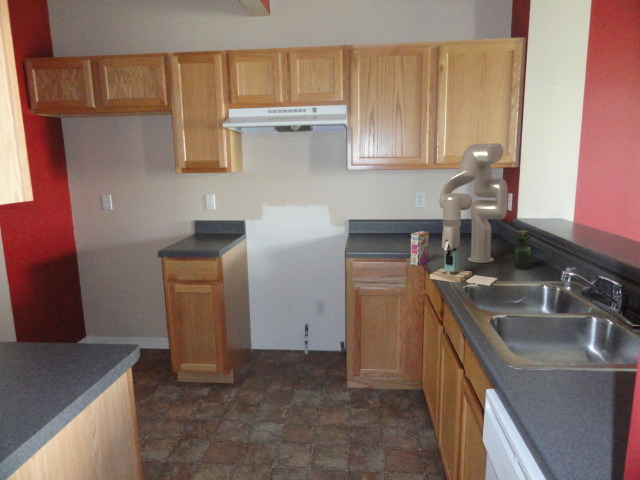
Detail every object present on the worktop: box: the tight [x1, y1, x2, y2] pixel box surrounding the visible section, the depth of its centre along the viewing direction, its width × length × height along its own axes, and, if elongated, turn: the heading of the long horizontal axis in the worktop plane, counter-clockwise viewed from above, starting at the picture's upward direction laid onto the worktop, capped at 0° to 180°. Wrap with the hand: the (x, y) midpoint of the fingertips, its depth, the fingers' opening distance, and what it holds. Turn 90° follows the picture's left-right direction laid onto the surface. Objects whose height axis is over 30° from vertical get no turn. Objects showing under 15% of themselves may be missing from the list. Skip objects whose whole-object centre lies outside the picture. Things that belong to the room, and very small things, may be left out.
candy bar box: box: [409, 230, 430, 267], centre depth 227 cm, size 11×5×16 cm, turn 141°
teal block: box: [444, 249, 459, 272], centre depth 198 cm, size 4×4×9 cm
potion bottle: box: [512, 230, 533, 271], centre depth 210 cm, size 8×8×18 cm
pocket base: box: [429, 267, 473, 284], centre depth 199 cm, size 14×14×2 cm
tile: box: [465, 274, 498, 287], centre depth 191 cm, size 10×10×1 cm
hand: (451, 262), depth 199 cm, fingers closed on teal block, 4 cm apart
